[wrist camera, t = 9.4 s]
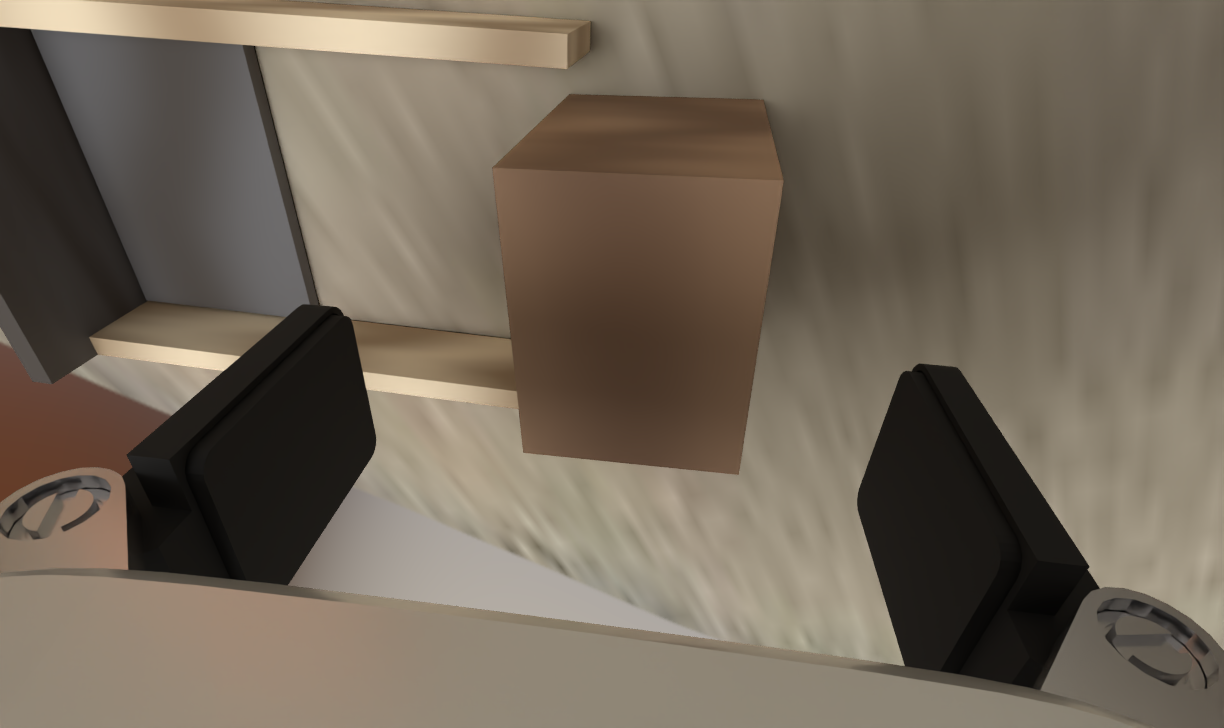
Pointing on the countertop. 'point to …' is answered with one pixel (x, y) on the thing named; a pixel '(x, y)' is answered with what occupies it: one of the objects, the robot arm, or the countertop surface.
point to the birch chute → (200, 181)
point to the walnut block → (639, 276)
